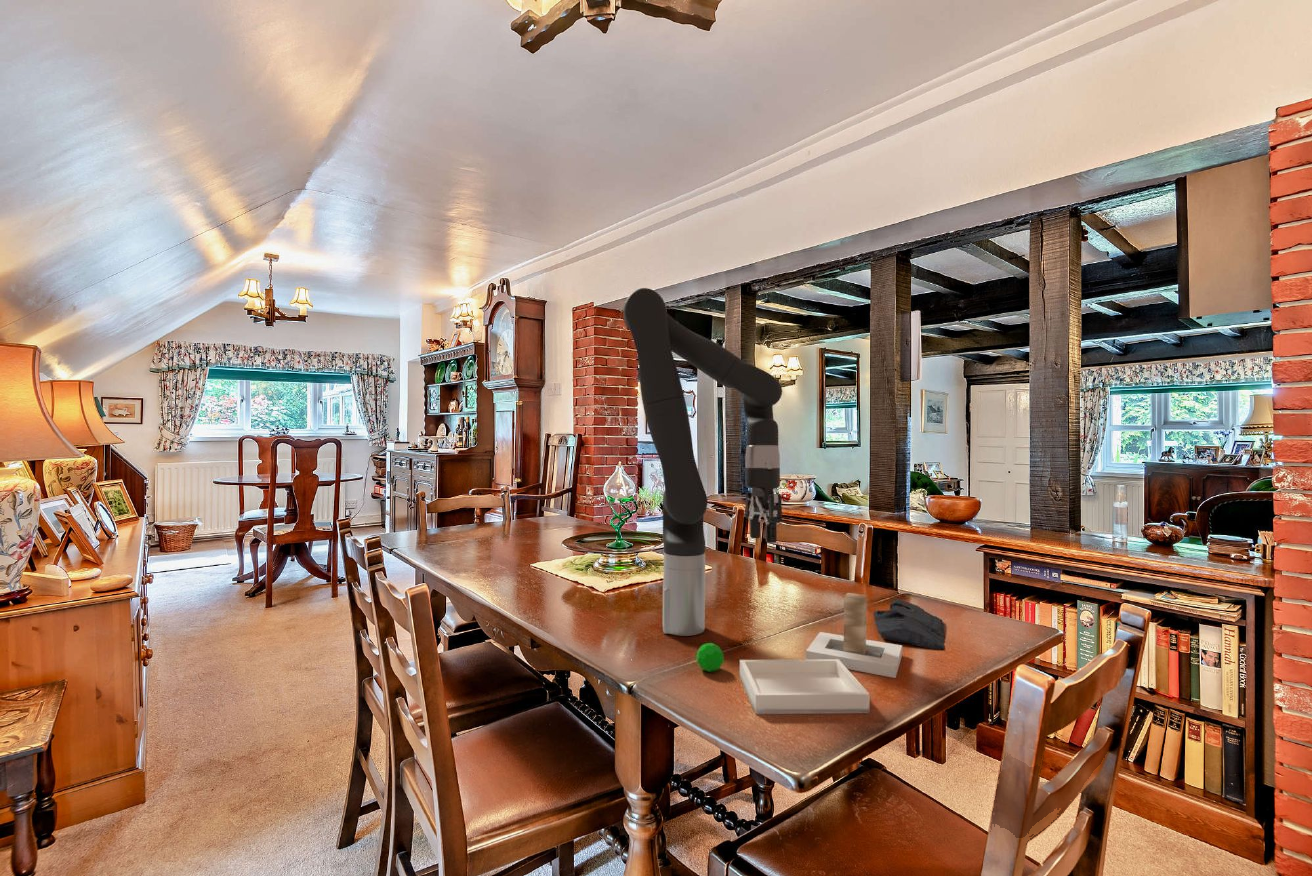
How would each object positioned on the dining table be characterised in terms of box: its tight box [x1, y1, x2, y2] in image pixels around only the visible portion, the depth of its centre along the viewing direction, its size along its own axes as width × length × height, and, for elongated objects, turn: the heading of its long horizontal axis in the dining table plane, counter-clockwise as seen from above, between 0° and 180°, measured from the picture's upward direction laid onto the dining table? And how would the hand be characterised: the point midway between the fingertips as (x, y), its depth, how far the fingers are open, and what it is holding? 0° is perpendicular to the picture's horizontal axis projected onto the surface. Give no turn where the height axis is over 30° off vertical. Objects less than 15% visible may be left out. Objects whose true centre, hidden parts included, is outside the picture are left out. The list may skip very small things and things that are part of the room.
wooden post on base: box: [831, 592, 881, 658], centre depth 114 cm, size 9×4×12 cm, turn 62°
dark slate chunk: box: [873, 598, 946, 650], centre depth 131 cm, size 15×22×5 cm
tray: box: [739, 658, 871, 715], centre depth 99 cm, size 18×14×3 cm
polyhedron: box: [695, 642, 725, 673], centre depth 108 cm, size 5×5×5 cm
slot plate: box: [805, 631, 903, 679], centre depth 114 cm, size 16×12×2 cm
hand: (762, 540), depth 129 cm, fingers open, 8 cm apart
